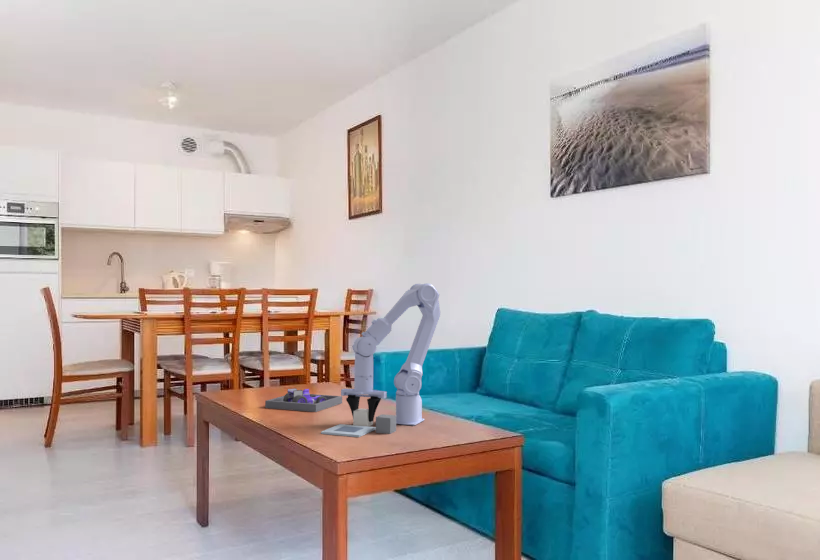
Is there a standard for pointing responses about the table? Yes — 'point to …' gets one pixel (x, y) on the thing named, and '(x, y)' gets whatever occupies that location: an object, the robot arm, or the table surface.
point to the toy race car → (302, 397)
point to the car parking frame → (303, 404)
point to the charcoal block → (386, 424)
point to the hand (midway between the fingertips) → (363, 420)
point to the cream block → (361, 417)
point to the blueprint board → (348, 430)
